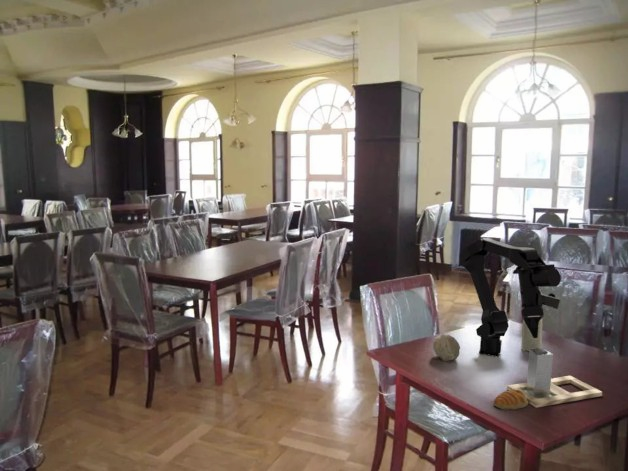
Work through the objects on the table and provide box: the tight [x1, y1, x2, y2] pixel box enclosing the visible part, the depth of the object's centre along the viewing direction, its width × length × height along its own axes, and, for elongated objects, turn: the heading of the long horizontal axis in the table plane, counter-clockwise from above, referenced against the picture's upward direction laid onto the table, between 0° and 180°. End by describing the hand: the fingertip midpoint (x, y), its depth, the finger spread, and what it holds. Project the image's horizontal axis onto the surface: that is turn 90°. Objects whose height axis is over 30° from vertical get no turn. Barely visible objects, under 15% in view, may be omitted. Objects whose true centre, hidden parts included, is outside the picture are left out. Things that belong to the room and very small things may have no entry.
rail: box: [506, 375, 603, 408], centre depth 152 cm, size 24×12×1 cm, turn 109°
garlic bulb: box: [432, 333, 461, 362], centre depth 177 cm, size 9×8×10 cm
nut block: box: [526, 347, 554, 398], centre depth 150 cm, size 5×5×14 cm
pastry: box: [493, 389, 529, 410], centre depth 145 cm, size 9×7×4 cm
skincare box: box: [520, 317, 544, 352], centre depth 186 cm, size 6×4×12 cm
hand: (535, 336), depth 165 cm, fingers open, 9 cm apart
